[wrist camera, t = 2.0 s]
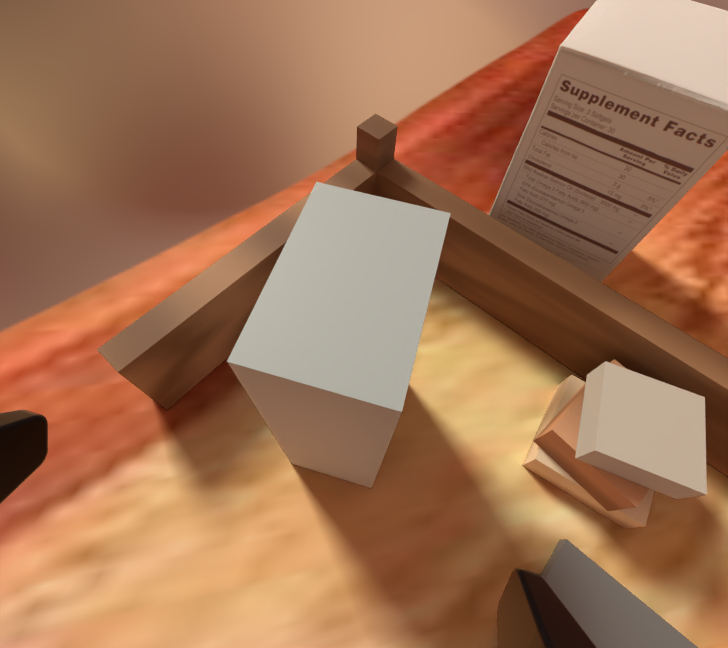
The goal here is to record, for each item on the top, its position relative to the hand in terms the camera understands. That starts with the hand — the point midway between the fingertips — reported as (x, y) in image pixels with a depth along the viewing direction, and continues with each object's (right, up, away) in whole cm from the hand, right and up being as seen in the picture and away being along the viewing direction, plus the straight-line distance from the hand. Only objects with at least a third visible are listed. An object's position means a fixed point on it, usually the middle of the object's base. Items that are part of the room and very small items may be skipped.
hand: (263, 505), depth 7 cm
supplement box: (+14, +8, +20) cm, 25 cm away
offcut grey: (+13, -1, +10) cm, 16 cm away
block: (+1, -1, +13) cm, 13 cm away
